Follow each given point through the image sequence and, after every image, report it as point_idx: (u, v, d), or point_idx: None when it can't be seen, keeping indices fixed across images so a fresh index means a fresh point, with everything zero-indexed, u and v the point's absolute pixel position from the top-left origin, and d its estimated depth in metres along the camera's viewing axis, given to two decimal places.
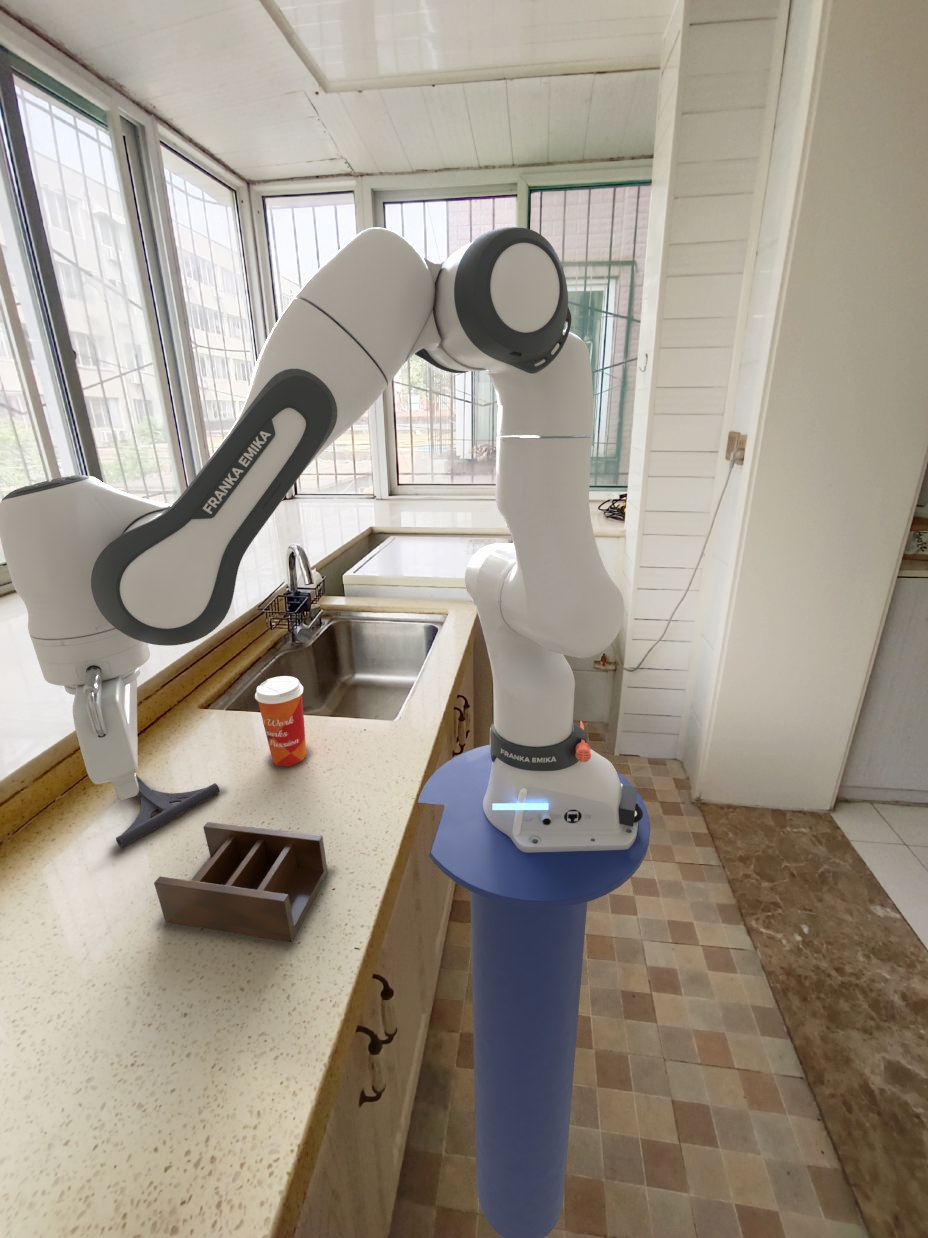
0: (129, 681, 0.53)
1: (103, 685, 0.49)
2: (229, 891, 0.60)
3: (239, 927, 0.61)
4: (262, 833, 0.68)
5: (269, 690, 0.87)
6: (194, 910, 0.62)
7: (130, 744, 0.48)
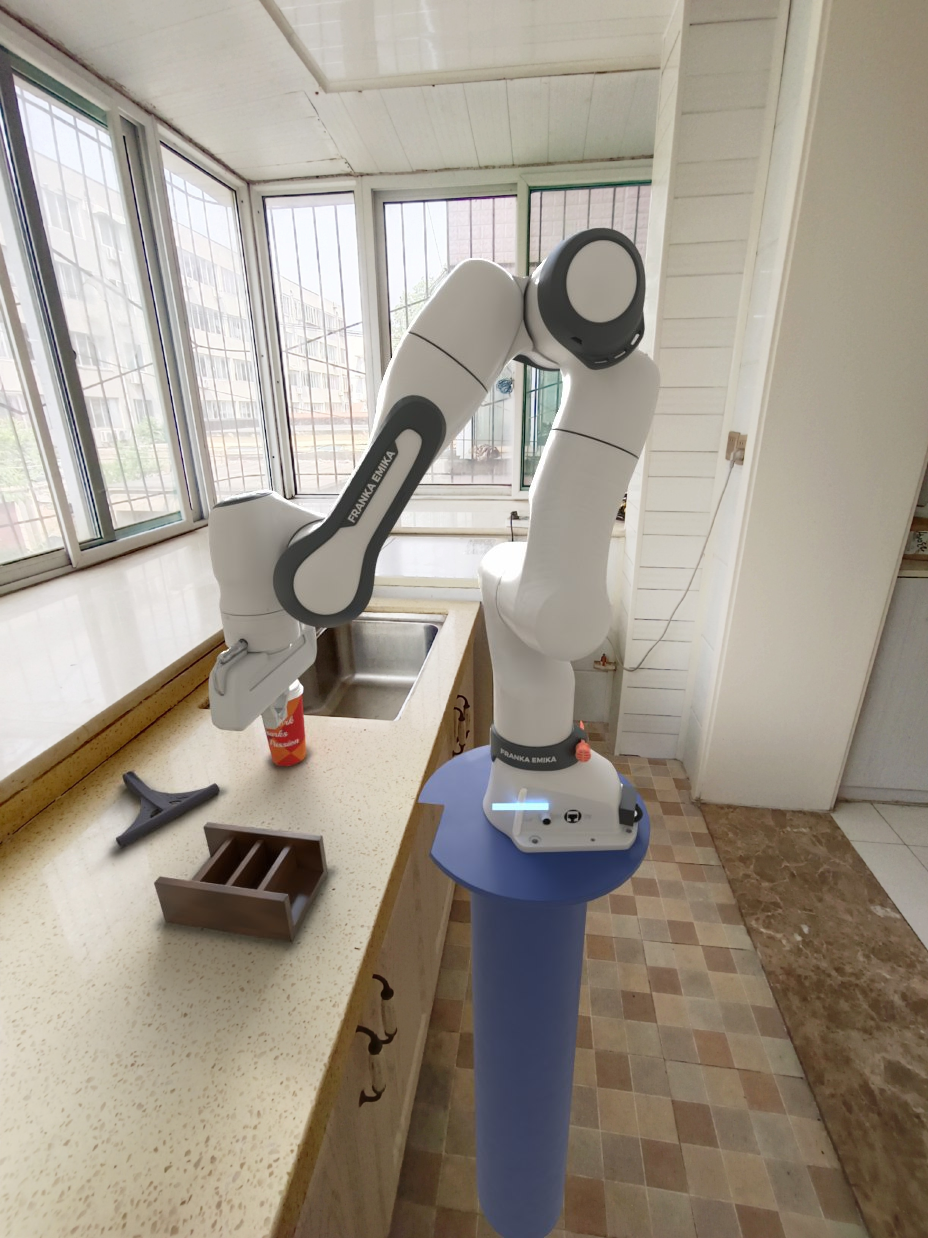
0: (273, 657, 0.65)
1: (245, 656, 0.62)
2: (229, 891, 0.60)
3: (239, 927, 0.61)
4: (262, 833, 0.68)
5: None
6: (194, 910, 0.62)
7: (239, 708, 0.60)
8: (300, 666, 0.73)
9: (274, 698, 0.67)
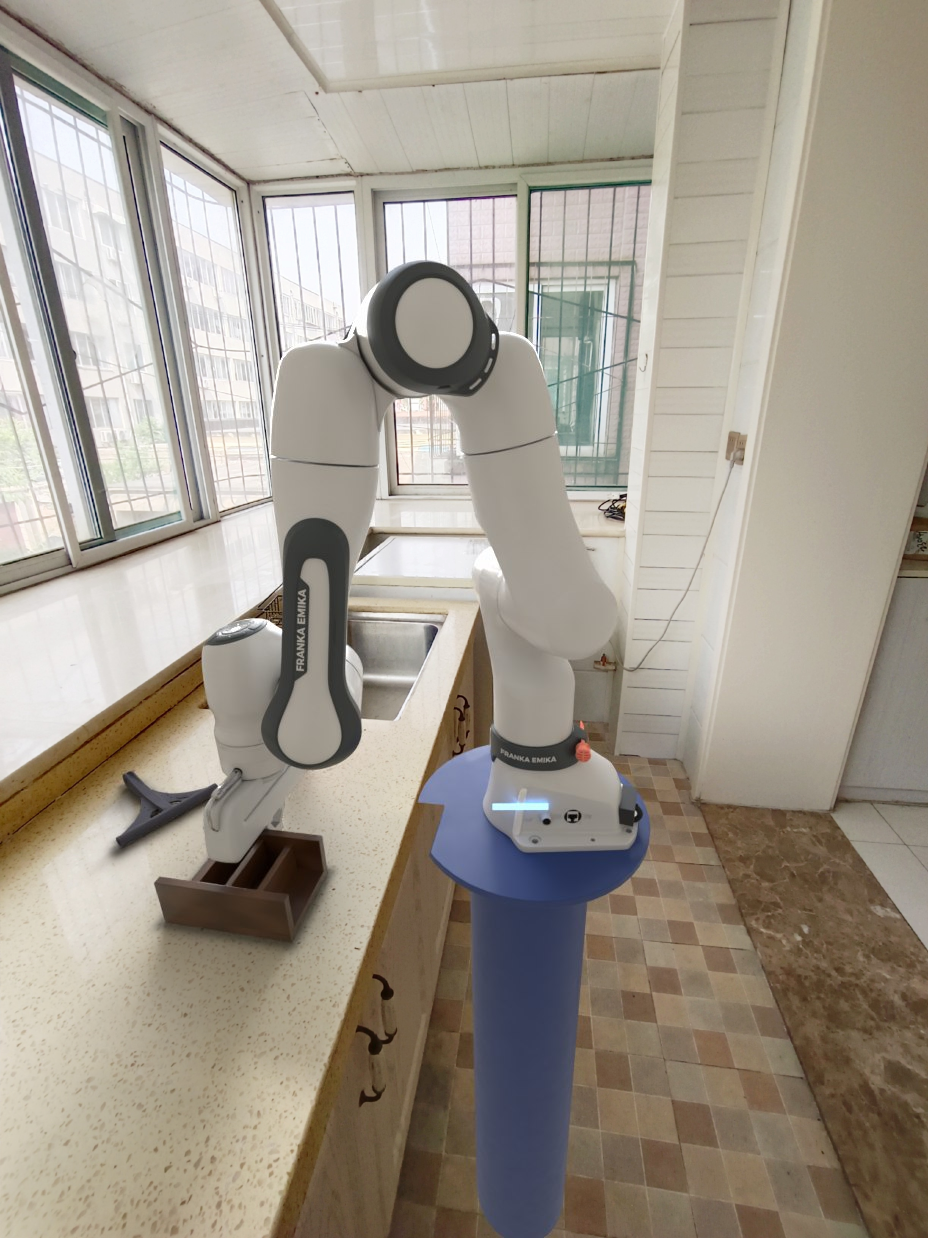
0: (268, 780, 0.66)
1: (240, 785, 0.63)
2: (229, 891, 0.60)
3: (239, 927, 0.61)
4: (262, 833, 0.68)
5: None
6: (194, 910, 0.62)
7: (234, 842, 0.60)
8: (296, 776, 0.74)
9: (270, 818, 0.67)
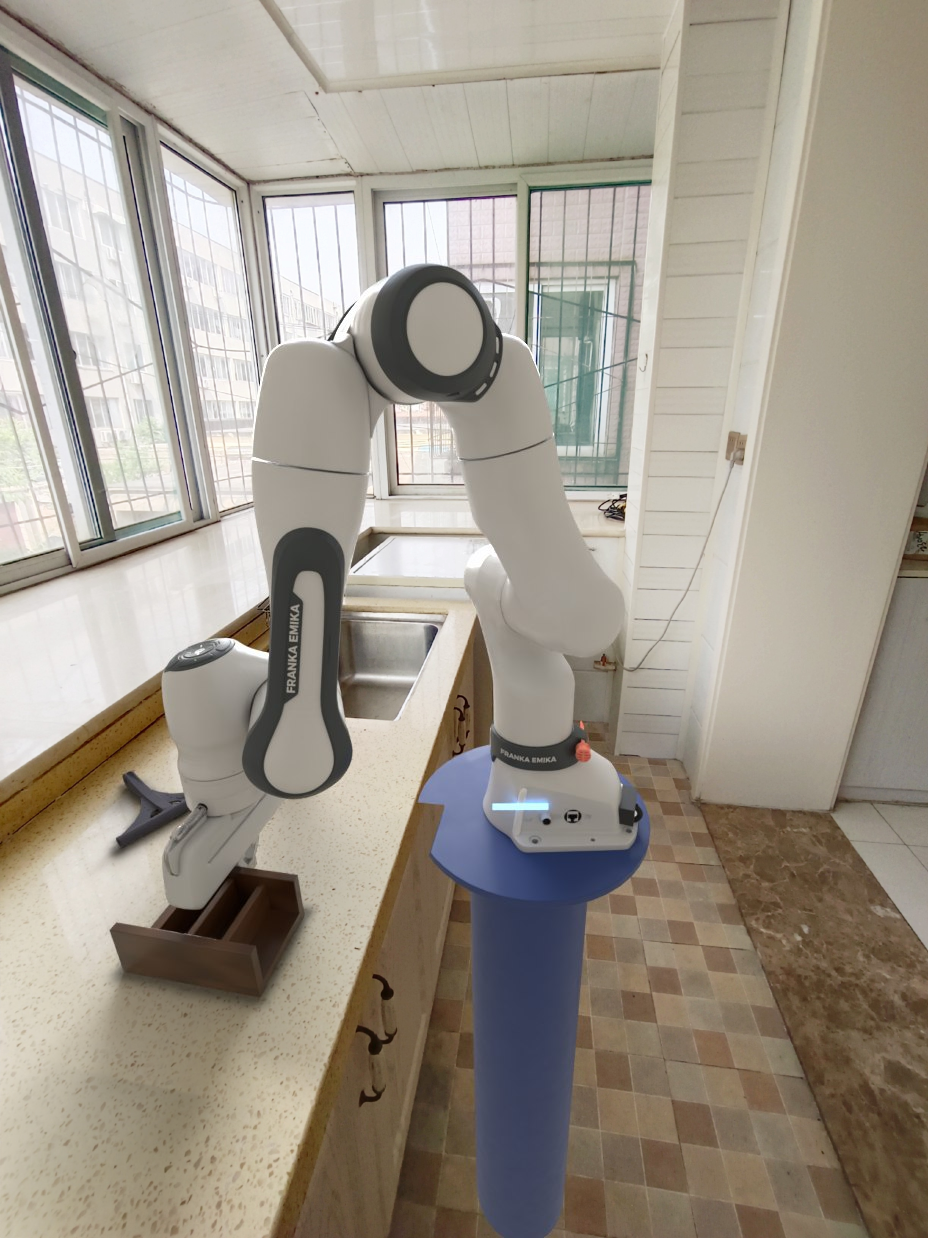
0: (237, 816, 0.60)
1: (204, 822, 0.57)
2: (191, 941, 0.54)
3: (202, 979, 0.56)
4: (232, 871, 0.63)
5: None
6: (153, 960, 0.56)
7: (196, 888, 0.54)
8: (272, 807, 0.68)
9: (240, 856, 0.62)
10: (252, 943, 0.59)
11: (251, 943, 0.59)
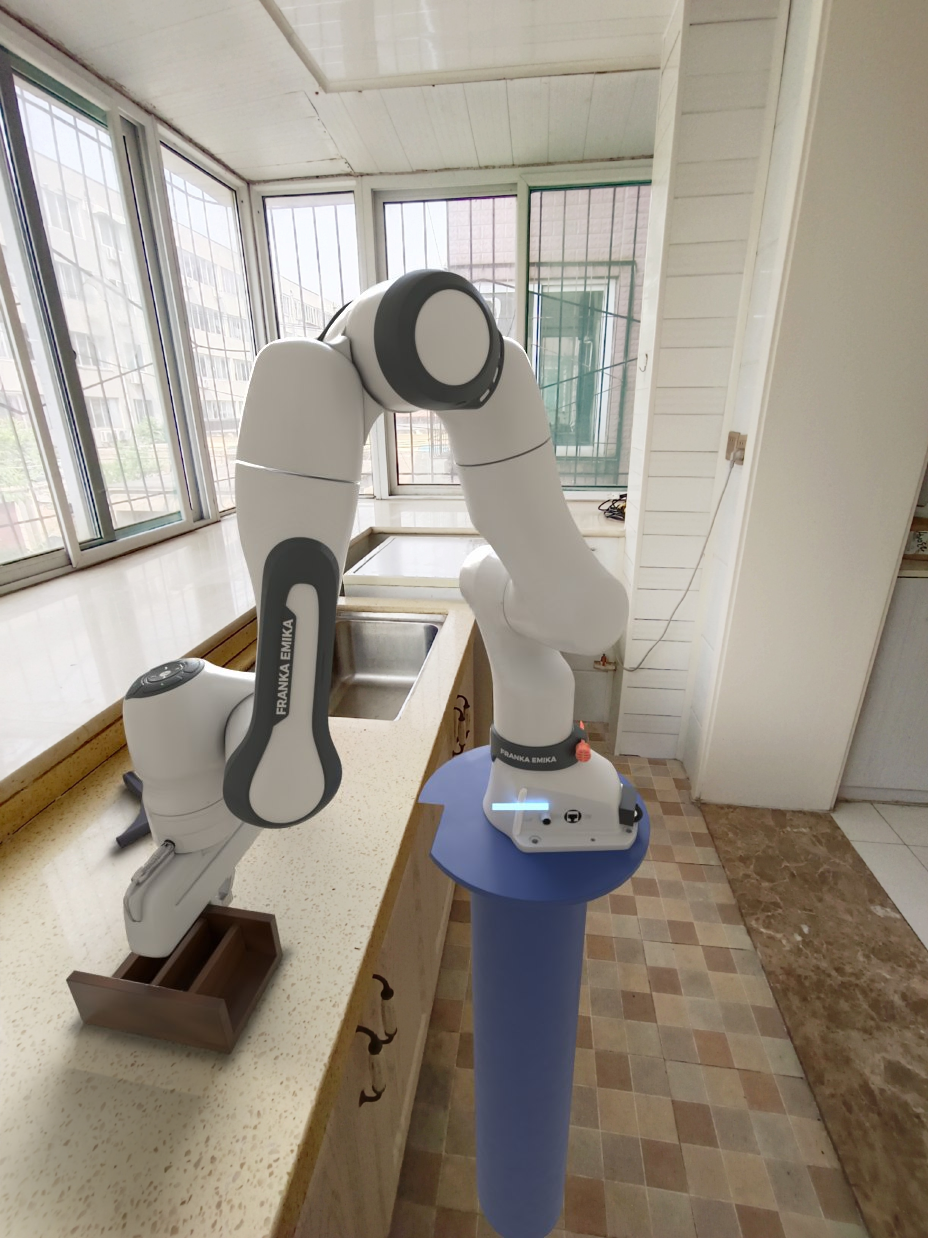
0: (209, 851, 0.55)
1: (171, 860, 0.52)
2: (153, 993, 0.49)
3: (168, 1034, 0.51)
4: (204, 910, 0.58)
5: None
6: (114, 1012, 0.51)
7: (161, 934, 0.49)
8: (250, 837, 0.63)
9: (213, 894, 0.57)
10: (224, 991, 0.54)
11: (223, 991, 0.54)
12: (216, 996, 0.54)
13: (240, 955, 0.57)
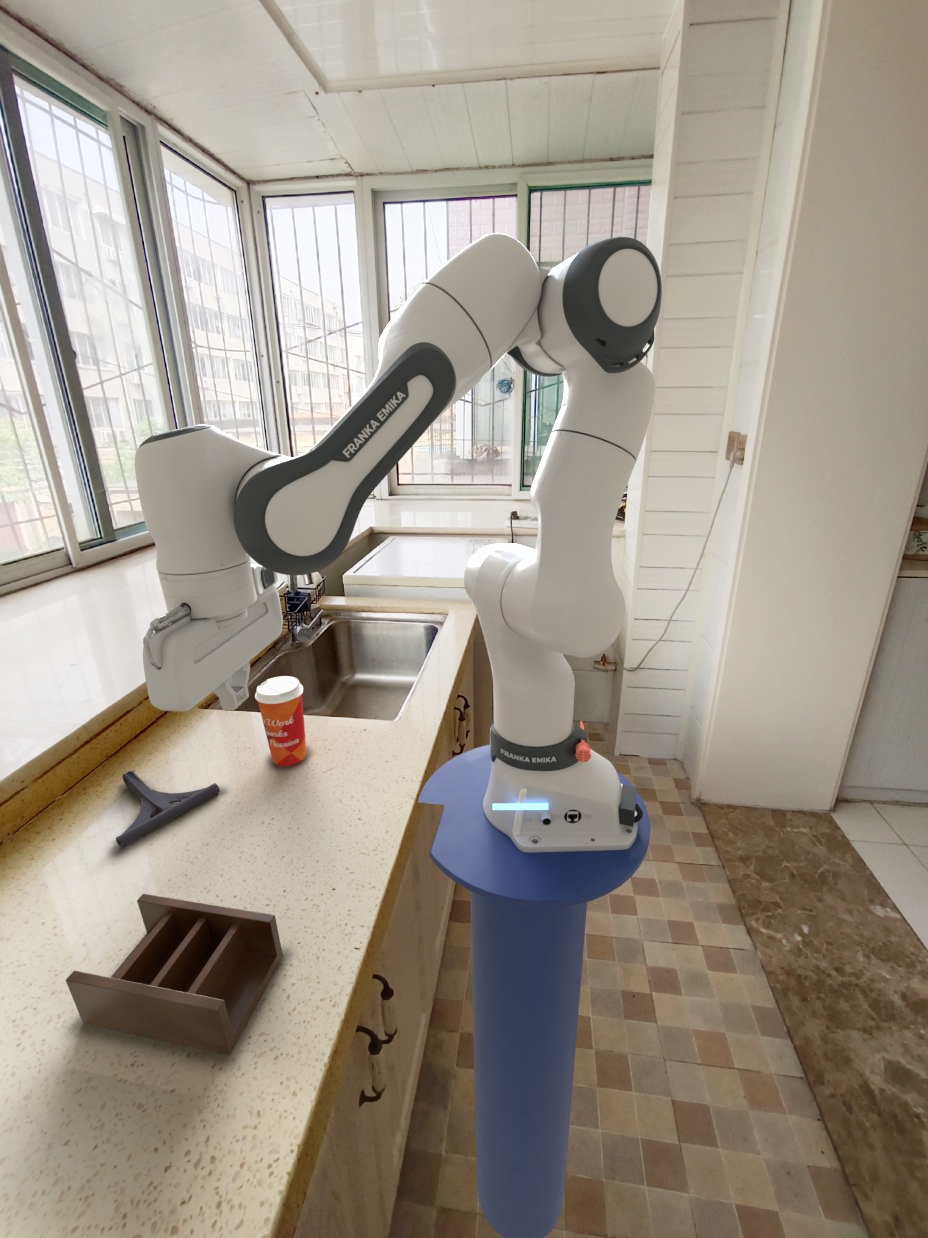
0: (224, 625, 0.56)
1: (188, 623, 0.53)
2: (153, 994, 0.49)
3: (167, 1034, 0.51)
4: (204, 910, 0.58)
5: (269, 690, 0.87)
6: (114, 1013, 0.51)
7: (181, 683, 0.50)
8: (262, 638, 0.64)
9: (229, 674, 0.57)
10: (224, 991, 0.54)
11: (223, 991, 0.54)
12: (216, 996, 0.54)
13: (240, 955, 0.57)
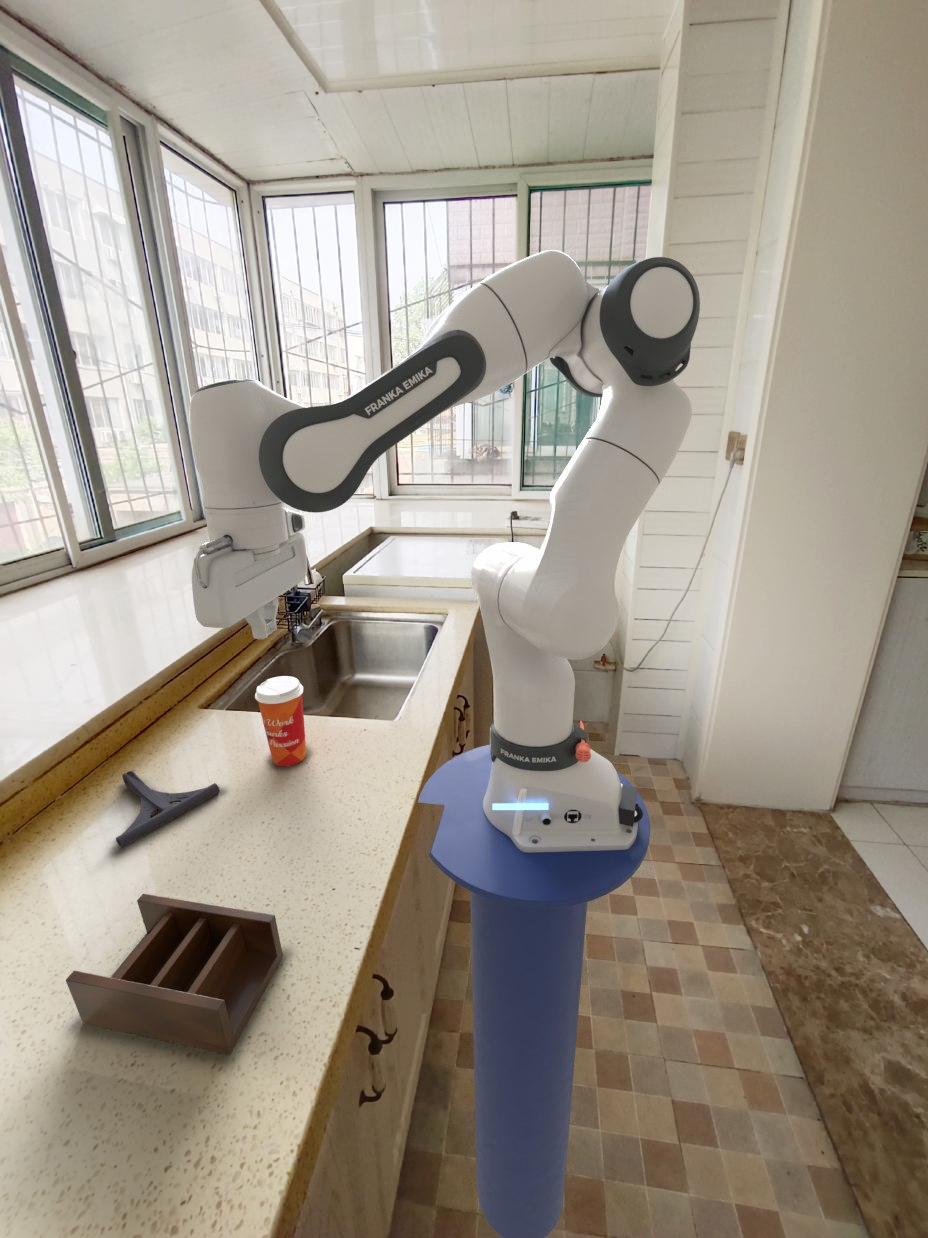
0: (259, 558, 0.63)
1: (230, 552, 0.60)
2: (153, 994, 0.49)
3: (167, 1034, 0.51)
4: (204, 910, 0.58)
5: (269, 690, 0.87)
6: (114, 1013, 0.51)
7: (224, 601, 0.58)
8: (289, 578, 0.71)
9: (262, 603, 0.65)
10: (224, 991, 0.54)
11: (223, 991, 0.54)
12: (216, 996, 0.54)
13: (240, 955, 0.57)
